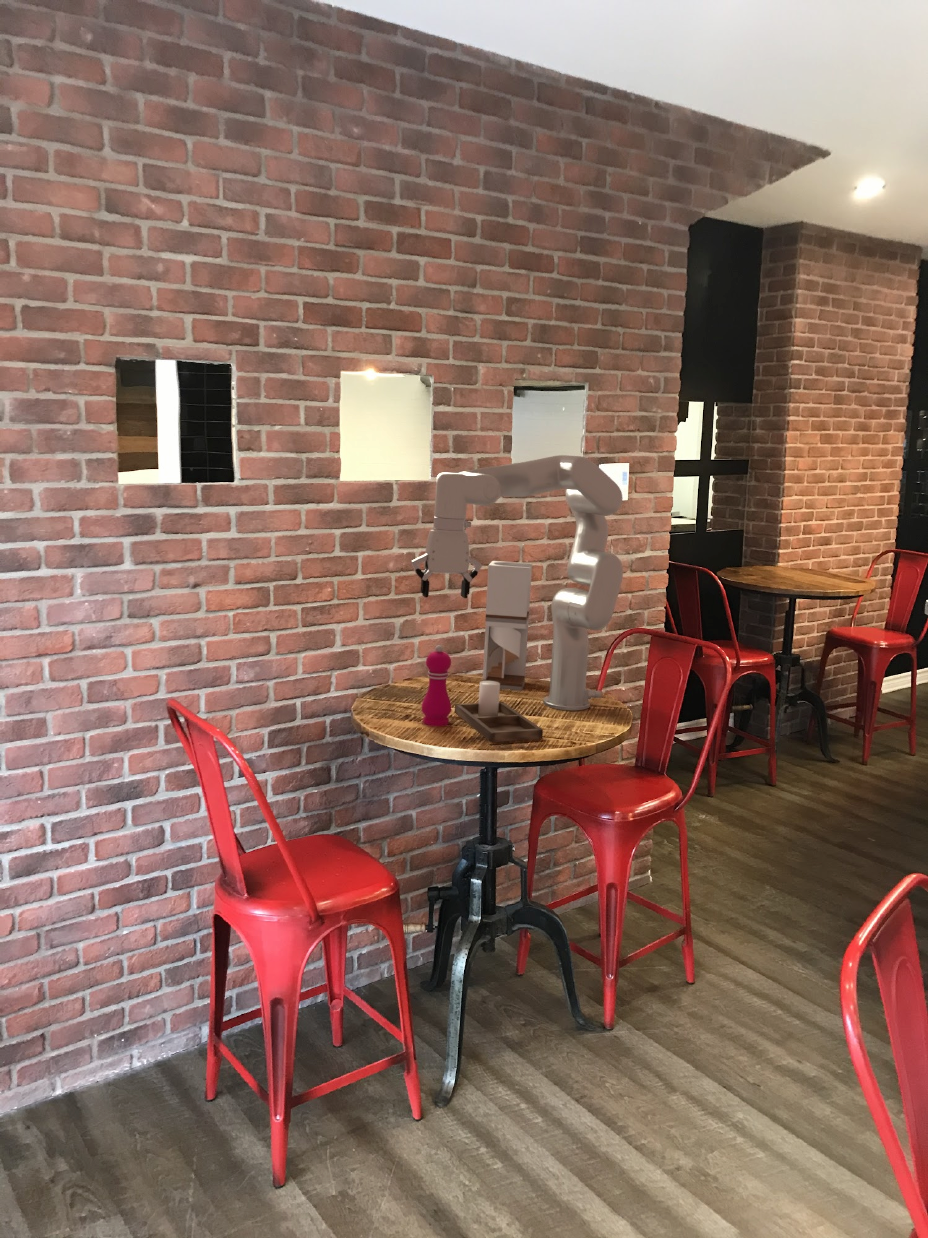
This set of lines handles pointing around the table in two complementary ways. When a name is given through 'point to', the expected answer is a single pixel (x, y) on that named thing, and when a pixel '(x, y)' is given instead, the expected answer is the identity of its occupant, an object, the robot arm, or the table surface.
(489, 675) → the spiral ramp tower
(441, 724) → the pepper mill
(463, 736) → the table surface
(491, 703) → the salt shaker
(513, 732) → the walnut cruet tray
